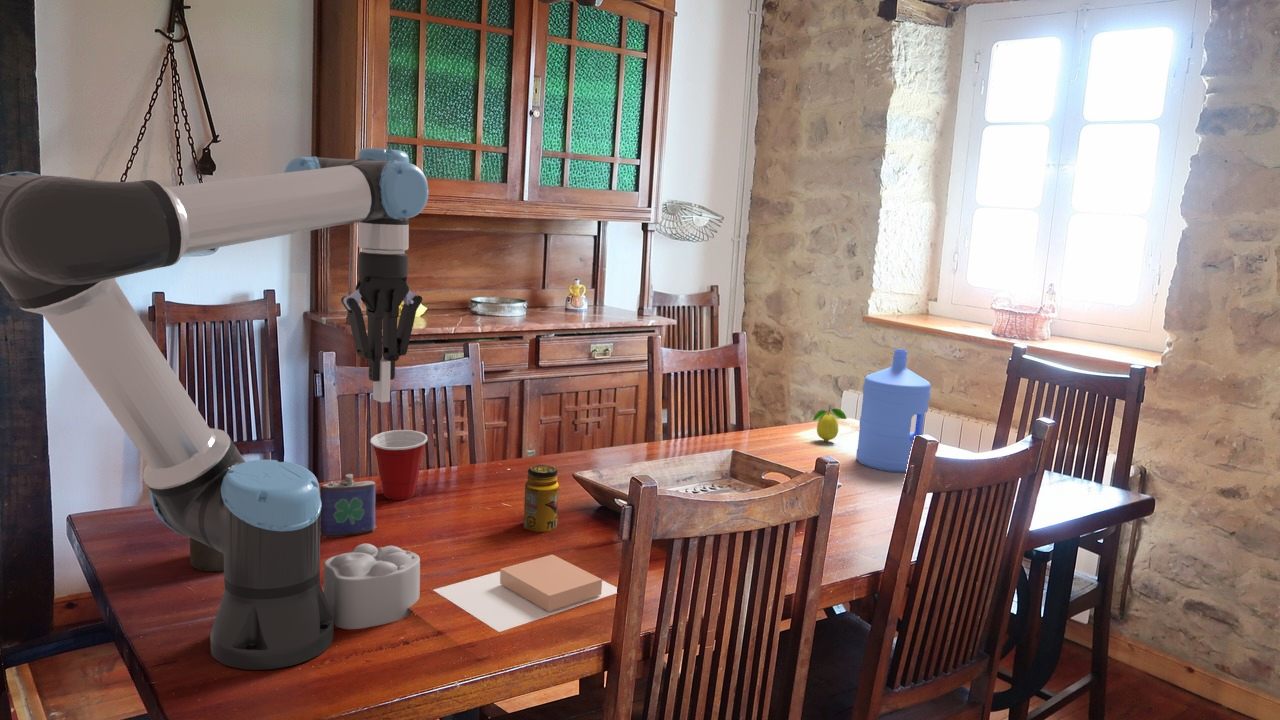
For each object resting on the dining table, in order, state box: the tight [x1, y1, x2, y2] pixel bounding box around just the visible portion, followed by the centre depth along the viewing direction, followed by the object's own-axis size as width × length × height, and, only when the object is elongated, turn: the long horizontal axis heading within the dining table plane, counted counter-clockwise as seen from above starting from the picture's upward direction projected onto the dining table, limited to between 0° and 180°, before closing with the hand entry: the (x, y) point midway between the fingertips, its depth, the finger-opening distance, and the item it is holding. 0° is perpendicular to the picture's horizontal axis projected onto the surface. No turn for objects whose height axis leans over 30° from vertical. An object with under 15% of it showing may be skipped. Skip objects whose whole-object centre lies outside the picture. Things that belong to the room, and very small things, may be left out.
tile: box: [499, 554, 603, 612], centre depth 143 cm, size 10×3×12 cm
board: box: [432, 570, 618, 633], centre depth 143 cm, size 23×17×1 cm
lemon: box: [812, 404, 848, 443], centre depth 247 cm, size 7×6×10 cm
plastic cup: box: [370, 429, 428, 501], centre depth 184 cm, size 11×11×12 cm
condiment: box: [523, 464, 560, 533], centre depth 169 cm, size 7×8×12 cm
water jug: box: [855, 348, 932, 473], centre depth 228 cm, size 16×16×28 cm
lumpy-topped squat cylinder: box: [323, 543, 421, 630], centre depth 136 cm, size 10×13×9 cm
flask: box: [319, 473, 376, 538], centre depth 164 cm, size 9×3×11 cm, turn 116°
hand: (381, 400), depth 150 cm, fingers closed
